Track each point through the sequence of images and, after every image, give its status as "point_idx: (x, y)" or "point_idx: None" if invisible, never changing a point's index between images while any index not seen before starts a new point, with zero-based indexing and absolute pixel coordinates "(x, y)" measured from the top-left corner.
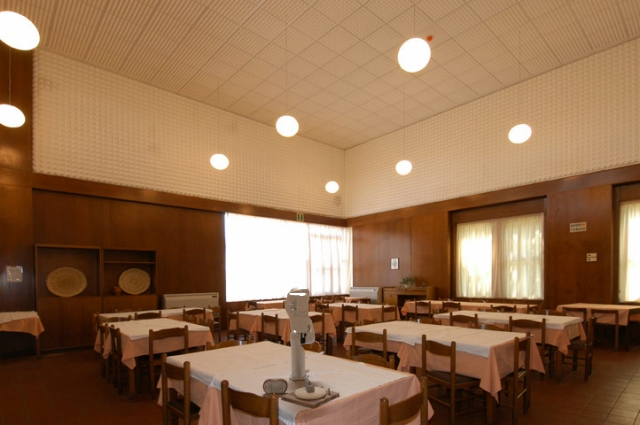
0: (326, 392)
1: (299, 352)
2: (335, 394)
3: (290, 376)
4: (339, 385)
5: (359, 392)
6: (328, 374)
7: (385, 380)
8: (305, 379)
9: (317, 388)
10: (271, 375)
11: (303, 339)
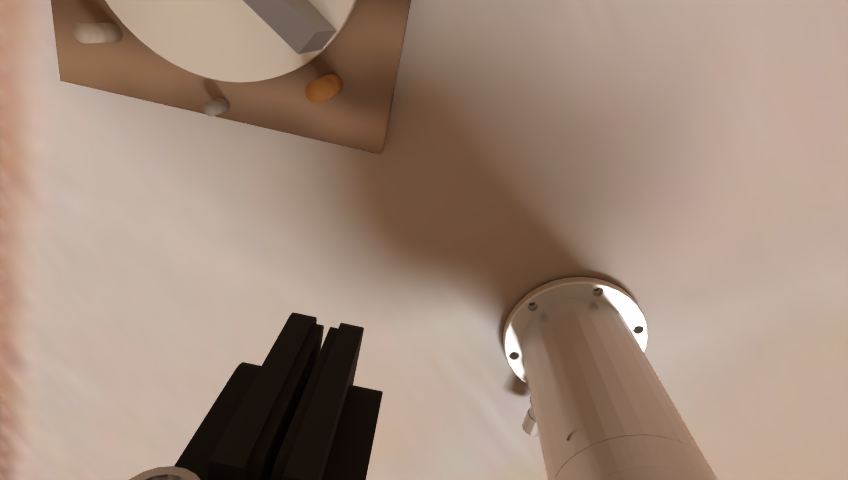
0: (149, 49)
1: (597, 477)
2: (58, 31)
3: (632, 315)
4: (216, 280)
5: (13, 197)
6: (404, 443)
7: (46, 435)
8: (292, 7)
9: (211, 38)
10: (814, 322)
11: (224, 426)
